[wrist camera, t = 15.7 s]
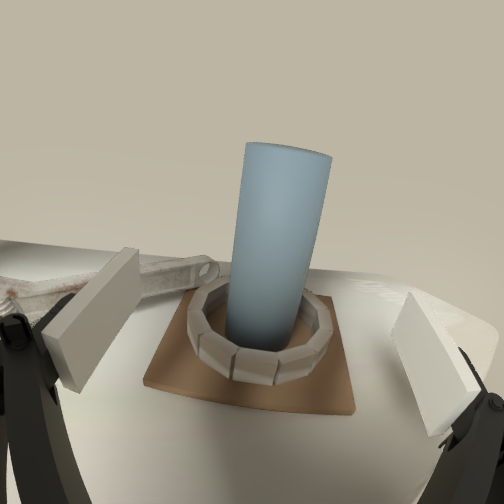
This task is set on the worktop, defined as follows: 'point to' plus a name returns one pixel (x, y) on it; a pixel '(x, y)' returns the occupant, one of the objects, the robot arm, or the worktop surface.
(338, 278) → the worktop surface
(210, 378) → the collar board
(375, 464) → the worktop surface
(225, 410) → the worktop surface
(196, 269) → the wrench
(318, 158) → the post
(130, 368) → the worktop surface
